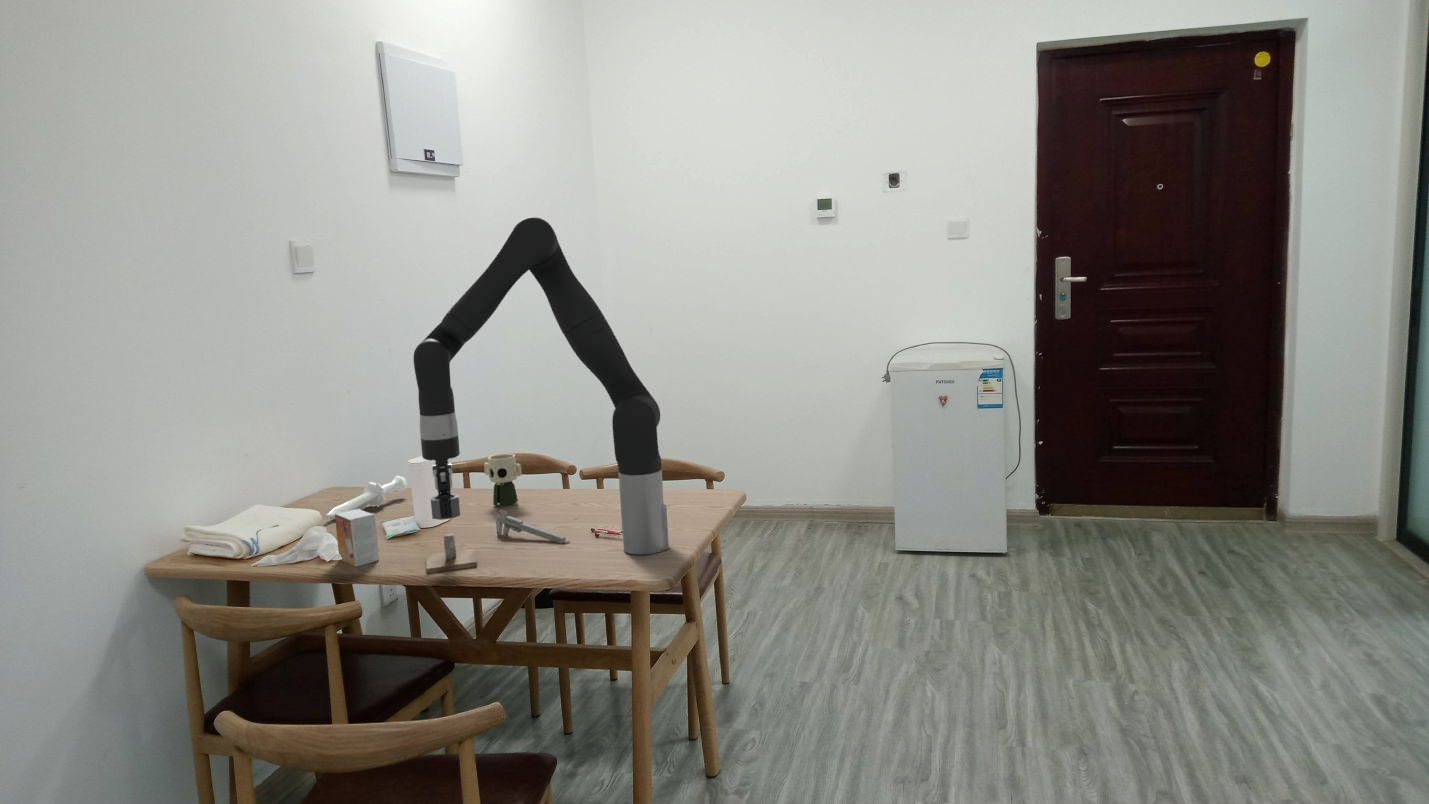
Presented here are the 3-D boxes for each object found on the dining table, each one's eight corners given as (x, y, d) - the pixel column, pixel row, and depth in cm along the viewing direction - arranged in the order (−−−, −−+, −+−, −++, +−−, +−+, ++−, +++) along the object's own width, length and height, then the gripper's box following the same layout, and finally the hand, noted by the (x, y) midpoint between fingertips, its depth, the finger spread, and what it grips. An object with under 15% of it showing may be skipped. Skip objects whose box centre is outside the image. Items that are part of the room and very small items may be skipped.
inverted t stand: (474, 552, 205) (472, 526, 204) (477, 566, 195) (474, 538, 194) (426, 559, 202) (424, 532, 201) (427, 573, 192) (424, 545, 191)
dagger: (335, 520, 233) (418, 478, 256) (319, 503, 233) (403, 462, 256) (325, 538, 237) (408, 495, 260) (310, 520, 238) (394, 479, 261)
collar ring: (459, 510, 200) (457, 492, 200) (460, 517, 195) (458, 498, 195) (432, 513, 199) (430, 495, 198) (432, 520, 194) (430, 501, 193)
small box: (339, 560, 204) (333, 513, 203) (364, 553, 208) (358, 507, 207) (354, 567, 199) (349, 519, 197) (380, 560, 202) (374, 513, 201)
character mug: (480, 507, 243) (475, 458, 241) (495, 500, 249) (491, 453, 247) (516, 509, 239) (512, 460, 237) (531, 502, 246) (527, 454, 244)
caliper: (496, 536, 218) (494, 510, 217) (500, 534, 218) (497, 508, 217) (567, 545, 208) (565, 517, 207) (570, 543, 209) (568, 516, 208)
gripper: (459, 439, 189) (466, 520, 191) (456, 427, 202) (463, 503, 205) (420, 442, 186) (427, 524, 189) (420, 430, 200) (427, 507, 203)
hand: (446, 513), depth 197 cm, fingers closed on collar ring, 5 cm apart
